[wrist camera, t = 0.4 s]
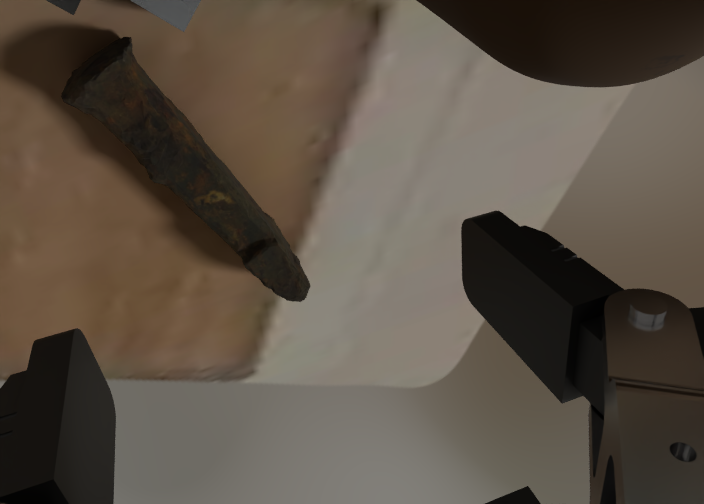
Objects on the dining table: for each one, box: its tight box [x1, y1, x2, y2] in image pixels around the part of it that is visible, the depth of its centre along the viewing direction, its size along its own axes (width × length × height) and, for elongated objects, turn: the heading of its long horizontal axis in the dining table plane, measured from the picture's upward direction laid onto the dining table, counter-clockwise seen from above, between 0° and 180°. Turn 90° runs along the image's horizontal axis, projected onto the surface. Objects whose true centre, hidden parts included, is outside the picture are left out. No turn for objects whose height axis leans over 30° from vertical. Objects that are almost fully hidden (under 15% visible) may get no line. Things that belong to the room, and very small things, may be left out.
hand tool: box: [61, 37, 310, 302], centre depth 33 cm, size 19×4×5 cm, turn 28°
